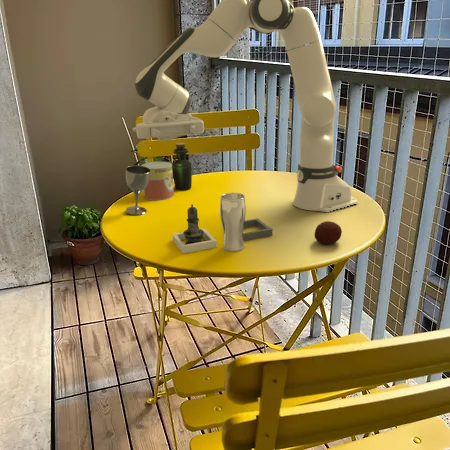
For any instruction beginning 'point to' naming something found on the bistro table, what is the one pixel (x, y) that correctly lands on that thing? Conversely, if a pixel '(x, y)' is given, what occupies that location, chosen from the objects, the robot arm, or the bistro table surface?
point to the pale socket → (194, 246)
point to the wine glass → (137, 185)
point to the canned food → (159, 181)
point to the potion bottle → (182, 169)
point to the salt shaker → (193, 227)
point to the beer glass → (233, 220)
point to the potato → (328, 232)
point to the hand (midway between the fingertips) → (176, 132)
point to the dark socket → (263, 232)
